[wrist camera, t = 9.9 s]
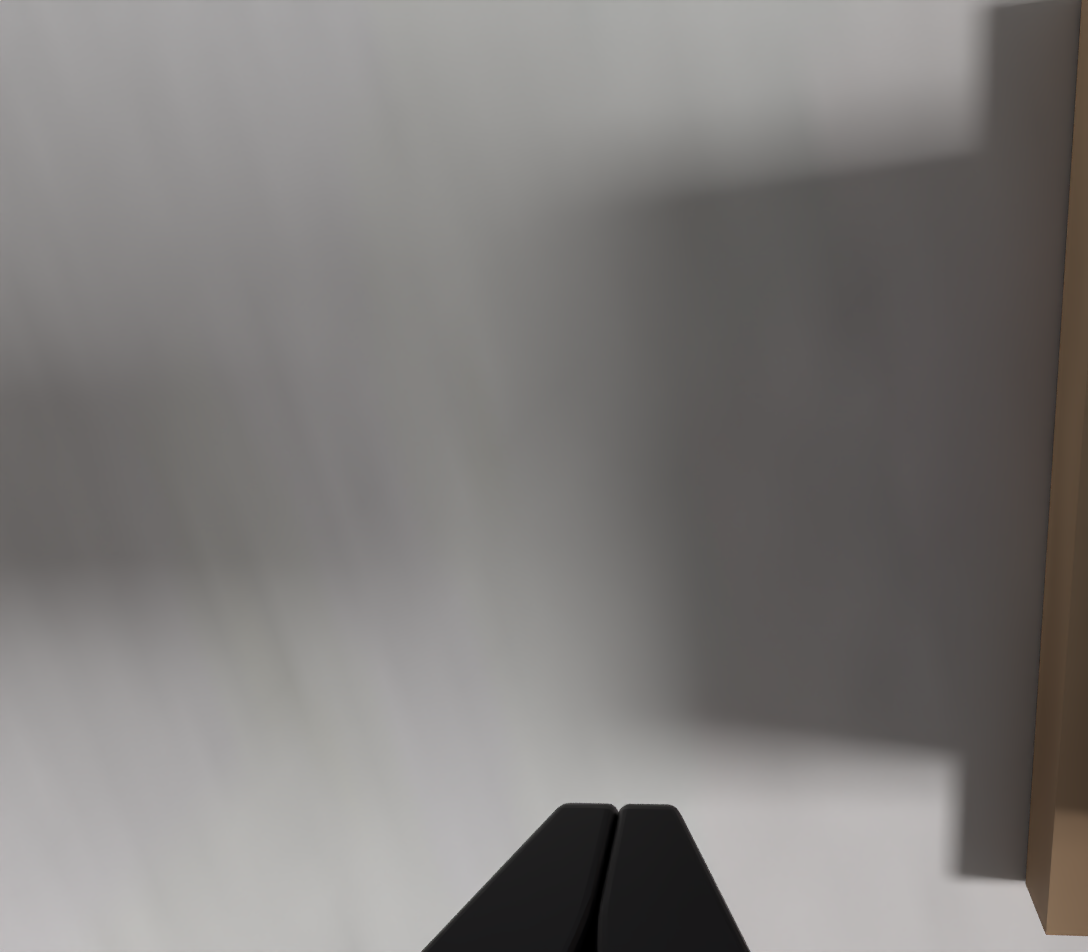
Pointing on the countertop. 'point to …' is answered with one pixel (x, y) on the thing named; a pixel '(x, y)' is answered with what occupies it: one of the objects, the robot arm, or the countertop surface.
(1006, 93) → the countertop surface
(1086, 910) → the shelf
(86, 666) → the countertop surface
